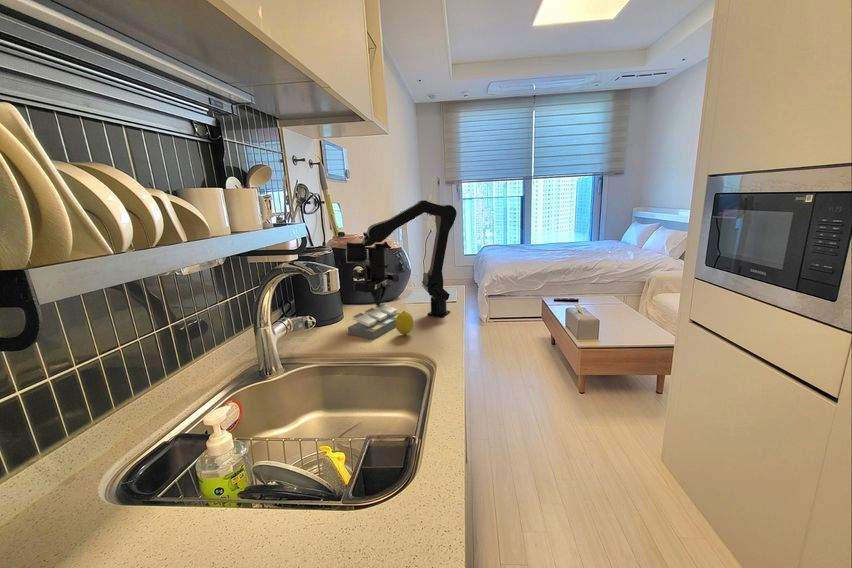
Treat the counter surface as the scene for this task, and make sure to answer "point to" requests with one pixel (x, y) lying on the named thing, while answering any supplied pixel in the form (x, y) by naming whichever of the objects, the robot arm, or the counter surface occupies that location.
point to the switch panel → (374, 327)
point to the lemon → (404, 323)
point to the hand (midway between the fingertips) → (377, 305)
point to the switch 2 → (386, 309)
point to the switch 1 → (364, 319)
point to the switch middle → (375, 314)
